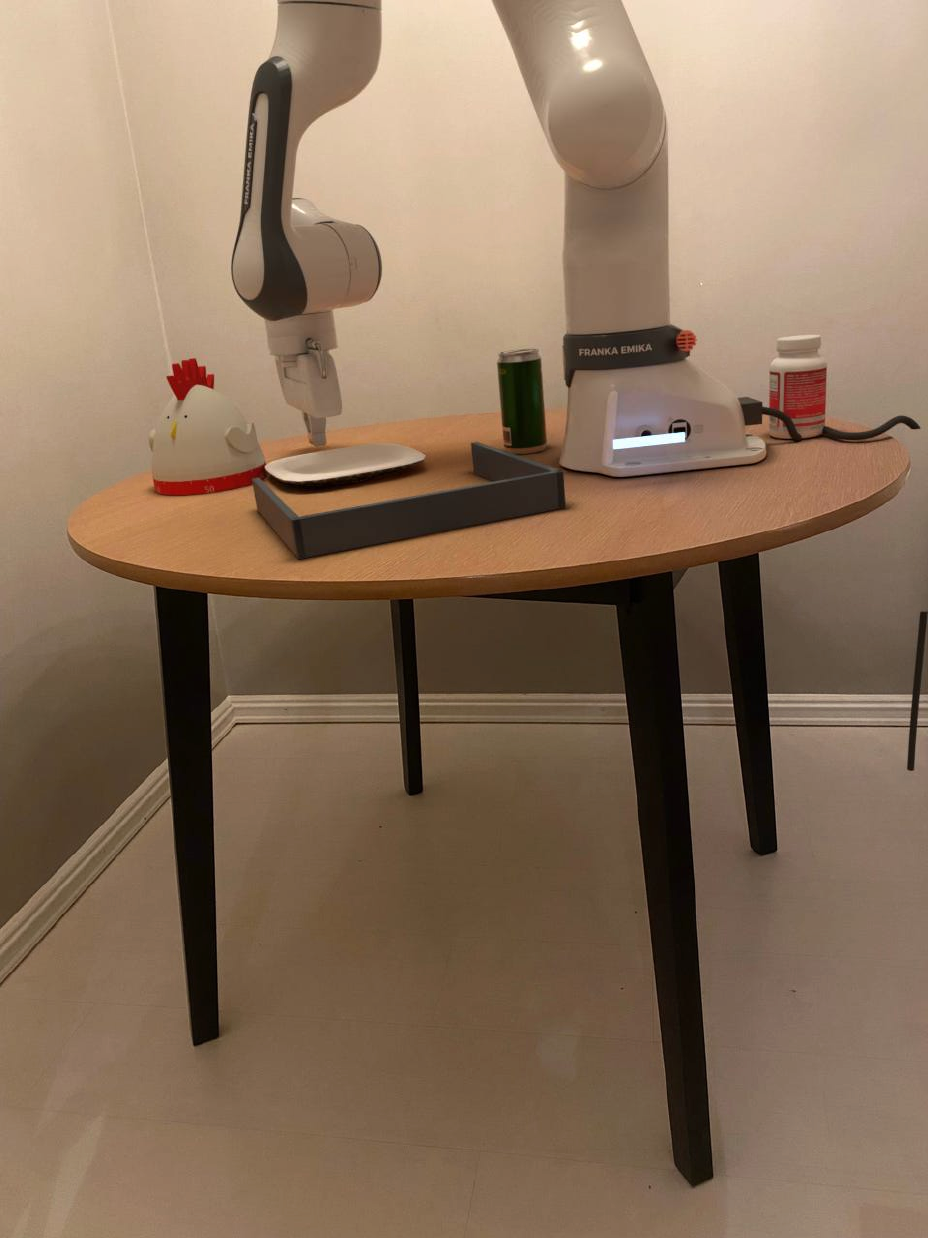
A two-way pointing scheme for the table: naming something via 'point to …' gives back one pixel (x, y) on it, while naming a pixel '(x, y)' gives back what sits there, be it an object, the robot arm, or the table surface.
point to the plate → (344, 464)
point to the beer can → (522, 401)
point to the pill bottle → (798, 386)
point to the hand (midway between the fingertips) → (318, 444)
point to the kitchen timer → (202, 439)
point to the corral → (421, 507)
